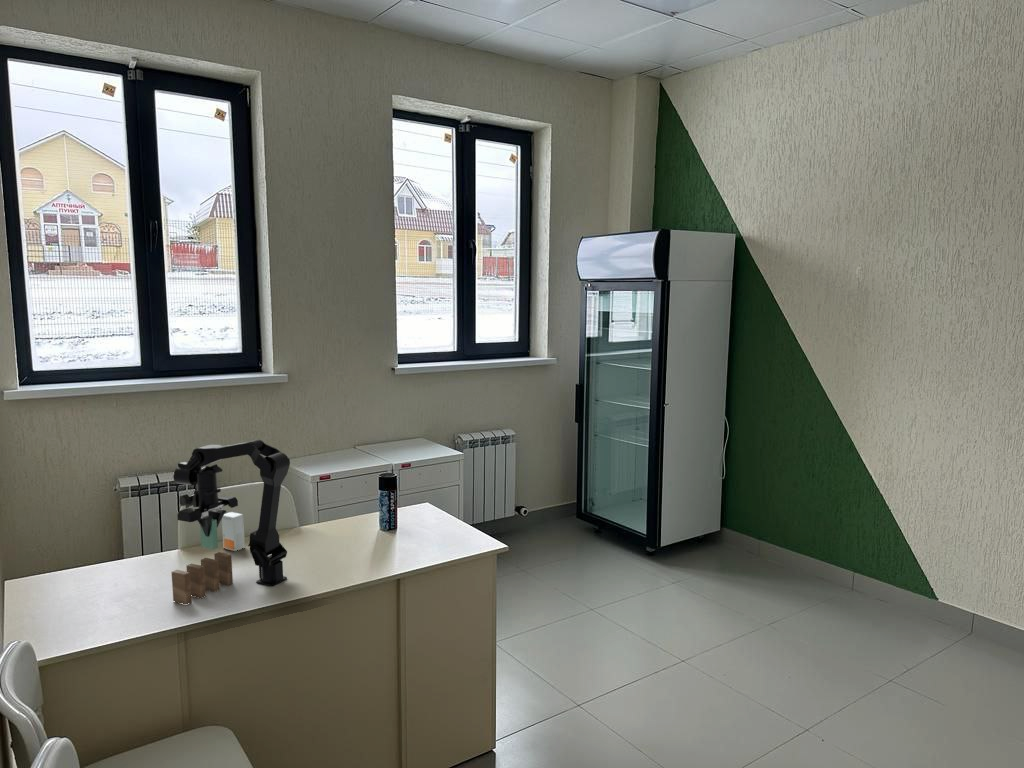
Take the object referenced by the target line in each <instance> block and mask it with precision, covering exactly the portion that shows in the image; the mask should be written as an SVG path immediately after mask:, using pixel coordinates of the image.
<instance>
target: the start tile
mask: <svg viewBox="0 0 1024 768" xmlns="http://www.w3.org/2000/svg"><path fill="white" fill-rule="evenodd" d="M199 525H200V524H199ZM199 528H200V541H201V548H204V549H210V550H215V549H218V548H219V541H218V540H219V537H218V527H217V519H212V520H211V529H210V535H209V536H208V537H207V536H205V534H204V531H203V529H202V527H201V525H200V527H199Z"/></svg>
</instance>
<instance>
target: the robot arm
mask: <svg viewBox="0 0 1024 768" xmlns="http://www.w3.org/2000/svg"><path fill="white" fill-rule="evenodd" d="M247 455H248V456H249V457H250V459H251V461H252V463H253V465H254V466H256V467H257V468H258V469H259V476H260V478H261V481H262V482H263V488H262V489H263V490H262V497H261V505H260V513H259V522H258V528H257V529H256V530H255V531H253V532H251V533H250V534H249V543H248V545H247V546H248V547H249V552H250V554H251V556H252V559H253V563H254V564H255V566H257V567H258V576H259V577H258V580H256V584H260V585H266V586H269V587H273V586H276V585H278V584H280V583H281V582H284V581H286V580H288V576H286V575H285V576H284V567H283V565H284V564H283V561H284V560H283V559H285V558H287V554H288V550H287V549H286V548H285V547H284V546H283V544H282V543H281V542H280V533H279V531H278V530H277V520H278V519H277V518H278V512H279V505H280V504H279V503H280V497H281V490H282V483H283V481H284V480H285V479H286V477H287V474H288V471H289V469H290V465H291V460H290V458H289V457H288V456H287V454H285V453H284V452H281V451H280V450H279V449H278V448H276V447H273V446H272V445H269V444H267V443H265V442H264V441H263V440H261V439H258V438H257V439H253V440H249V441H245V442H240V443H233V444H228V445H221V444H207V445H204V446H201V447H196V448H194V449H192V452H191V456H190V458H189V460H188V461H187V462H186V461H182V462H178V463H177V467H176V469H175V470H174V473H173V476H172V477H173V480H174V482H175V483H176V484H178V485H187V486H197V487H196V488H197V489H195V490H193V494H192V495H188V494H187V493H185V494H183V495H180V496H179V505H180V506H181V507H185V508H184V509H181V510H179V511H178V512H177V514H176V515H177V521H180V522H181V521H182V522H187V523H194V522H198V524H199V525H201V527H202V529H203V531H204V534H205V536H207V537H208V536H209V535H210V529H211V520H212V519H217V528H218V527H219V526H220V522H222V517H223V515H224V514H226V513H227V510H225V509H224V507H226V506H228V507H229V508H230V509H233V508H237V507H238V506H239V501H238V500H239V499H238V498H237V497H236V496H231V495H230V496H229V495H223V496H221V497H220V496H219V493H221V492H222V491H221V488H220V487H219V488H218V475H217V474H218V473H221V472H223V468H221V467H219V465H218V464H214V463H217V462H220V461H221V460H225V459H230V458H237V457H242V456H243V457H244V456H247ZM211 464H213V465H211ZM208 465H210V466H208ZM191 507H192V508H191Z"/></svg>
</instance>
